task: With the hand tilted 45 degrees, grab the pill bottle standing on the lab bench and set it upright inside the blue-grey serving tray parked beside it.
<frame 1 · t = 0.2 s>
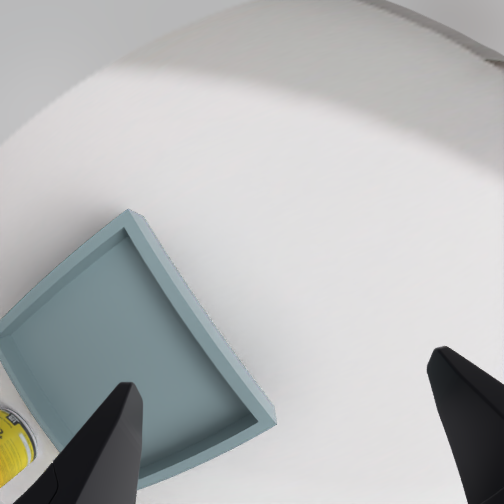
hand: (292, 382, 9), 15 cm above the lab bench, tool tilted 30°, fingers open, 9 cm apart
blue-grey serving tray: (129, 364, 23), on the lab bench
pill bottle: (17, 433, 23), on the lab bench
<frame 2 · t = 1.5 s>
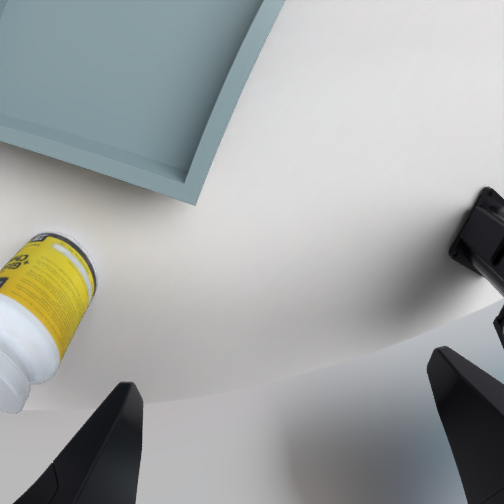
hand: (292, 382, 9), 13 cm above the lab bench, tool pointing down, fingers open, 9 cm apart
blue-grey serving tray: (127, 11, 13), on the lab bench
pill bottle: (62, 266, 21), on the lab bench
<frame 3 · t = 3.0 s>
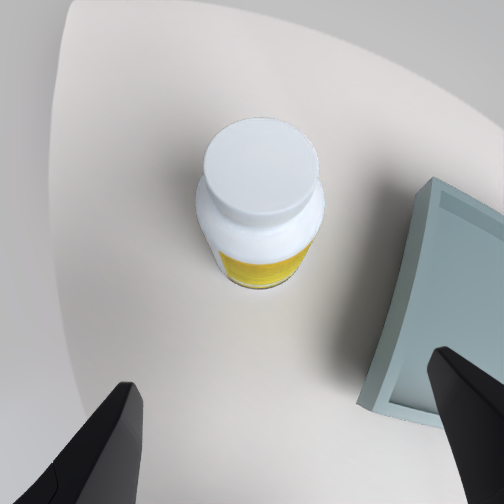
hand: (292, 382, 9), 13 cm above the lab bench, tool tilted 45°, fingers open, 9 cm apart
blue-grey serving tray: (463, 326, 22), on the lab bench
pill bottle: (258, 247, 24), on the lab bench
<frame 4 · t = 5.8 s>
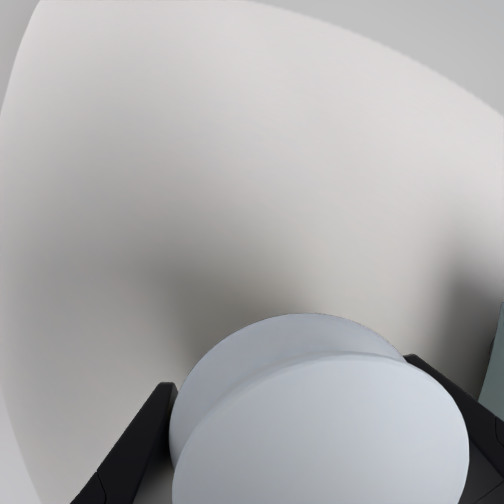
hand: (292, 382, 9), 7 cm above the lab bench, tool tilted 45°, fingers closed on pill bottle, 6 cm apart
pill bottle: (278, 394, 15), on the lab bench, touching gripper
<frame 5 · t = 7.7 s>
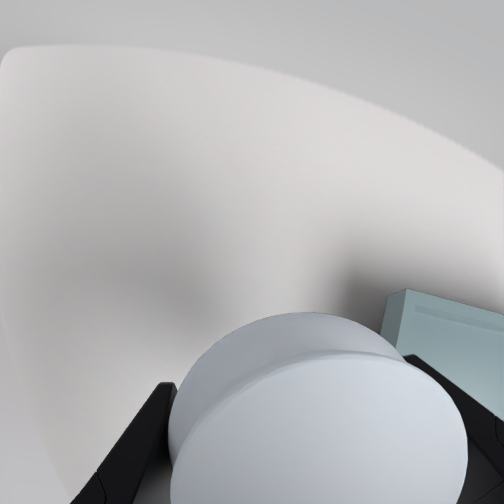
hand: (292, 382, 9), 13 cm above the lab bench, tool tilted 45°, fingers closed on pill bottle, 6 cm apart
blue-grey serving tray: (440, 418, 20), on the lab bench
pill bottle: (277, 393, 15), point 6 cm above the lab bench, touching gripper
when the fingers open (11 cm above the lab bench, at t = 10.0 s): pill bottle stays where it is, resting on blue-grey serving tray.
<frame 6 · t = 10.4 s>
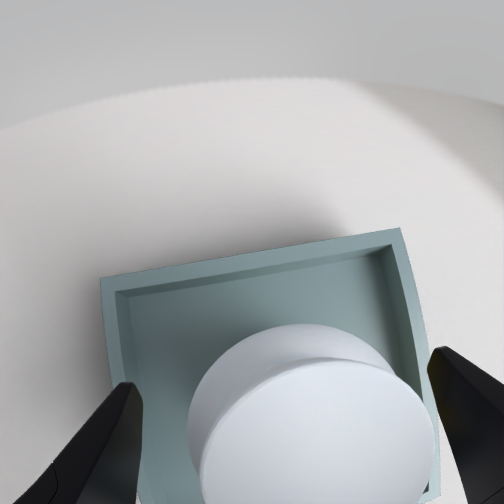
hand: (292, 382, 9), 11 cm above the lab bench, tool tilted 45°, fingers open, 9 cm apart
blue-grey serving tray: (275, 399, 18), on the lab bench
pill bottle: (278, 393, 16), point 3 cm above the lab bench, touching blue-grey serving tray
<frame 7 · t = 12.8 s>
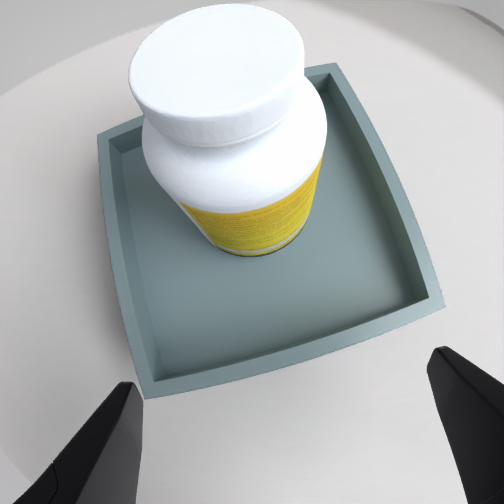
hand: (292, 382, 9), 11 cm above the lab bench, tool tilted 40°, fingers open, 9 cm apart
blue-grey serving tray: (258, 231, 21), on the lab bench
pill bottle: (252, 205, 19), point 3 cm above the lab bench, touching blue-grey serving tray
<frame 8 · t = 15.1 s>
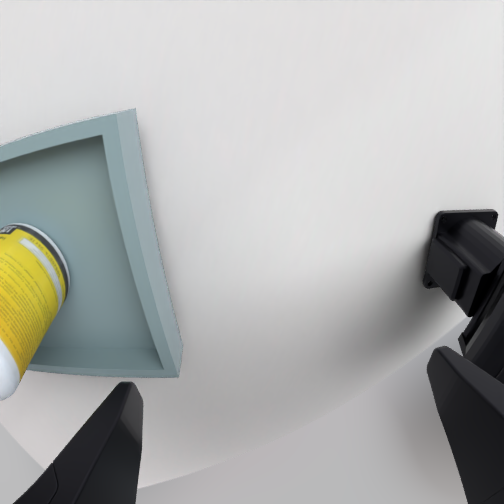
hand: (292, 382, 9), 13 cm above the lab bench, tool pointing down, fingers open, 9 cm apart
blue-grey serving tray: (60, 243, 20), on the lab bench
pill bottle: (33, 263, 18), point 3 cm above the lab bench, touching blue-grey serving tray
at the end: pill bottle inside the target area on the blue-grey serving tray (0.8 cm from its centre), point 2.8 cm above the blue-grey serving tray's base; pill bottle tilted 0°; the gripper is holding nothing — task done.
